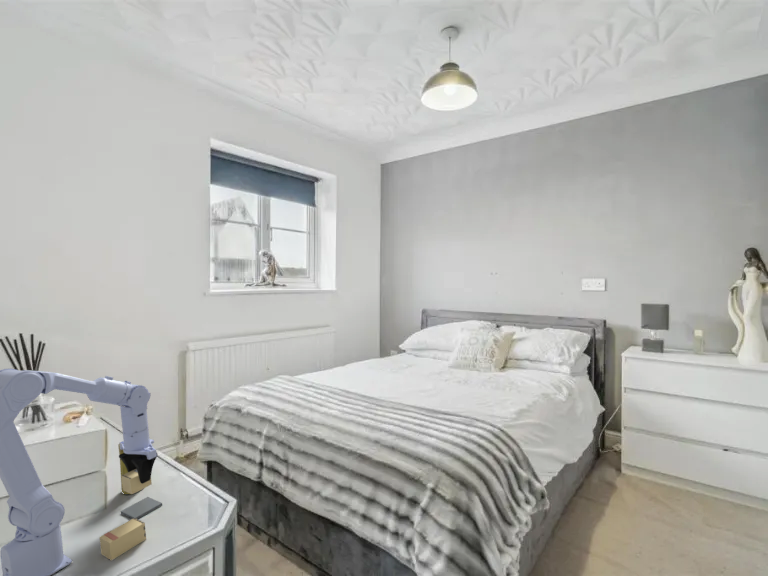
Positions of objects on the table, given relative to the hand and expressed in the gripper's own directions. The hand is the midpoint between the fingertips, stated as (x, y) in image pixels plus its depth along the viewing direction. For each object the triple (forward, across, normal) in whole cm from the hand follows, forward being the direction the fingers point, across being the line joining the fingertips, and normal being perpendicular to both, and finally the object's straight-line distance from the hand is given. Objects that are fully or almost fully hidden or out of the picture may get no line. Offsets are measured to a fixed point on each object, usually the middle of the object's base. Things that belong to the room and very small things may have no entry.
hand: (140, 479), depth 103 cm
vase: (+9, +14, -4) cm, 17 cm away
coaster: (+8, +1, 0) cm, 8 cm away
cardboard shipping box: (+8, -11, +10) cm, 17 cm away
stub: (+2, 0, +1) cm, 2 cm away
